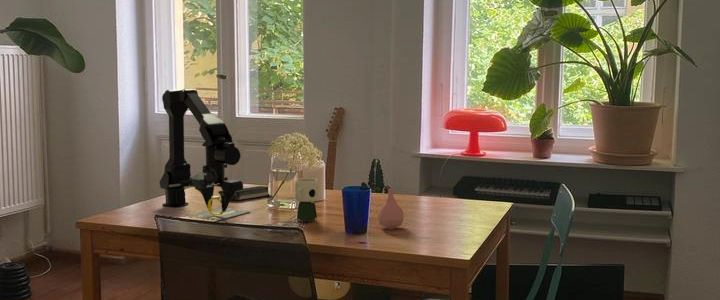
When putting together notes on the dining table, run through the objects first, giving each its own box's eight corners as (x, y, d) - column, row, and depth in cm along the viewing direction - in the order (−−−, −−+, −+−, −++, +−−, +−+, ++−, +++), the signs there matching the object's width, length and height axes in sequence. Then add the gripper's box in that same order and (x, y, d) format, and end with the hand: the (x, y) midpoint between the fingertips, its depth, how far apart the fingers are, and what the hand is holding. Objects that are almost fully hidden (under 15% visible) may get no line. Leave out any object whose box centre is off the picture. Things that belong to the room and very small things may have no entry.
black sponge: (235, 202, 266) (235, 192, 266) (222, 199, 272) (222, 189, 272) (274, 196, 277) (273, 186, 276) (261, 193, 283) (260, 183, 283)
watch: (227, 214, 242) (226, 196, 241) (221, 216, 239) (221, 198, 238) (211, 213, 244) (211, 194, 243) (206, 214, 242) (205, 196, 241)
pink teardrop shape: (385, 224, 231) (385, 185, 230) (408, 227, 227) (408, 187, 226) (373, 229, 225) (373, 189, 223) (396, 232, 221) (396, 192, 219)
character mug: (309, 225, 230) (308, 183, 228) (288, 223, 233) (287, 181, 231) (325, 218, 240) (324, 177, 238) (305, 216, 243) (304, 176, 241)
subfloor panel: (171, 220, 238) (171, 218, 238) (221, 208, 256) (221, 206, 256) (200, 225, 231) (200, 223, 231) (250, 212, 249) (250, 210, 248)
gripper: (175, 162, 238) (177, 211, 240) (218, 167, 228) (219, 218, 230) (201, 158, 247) (203, 205, 249) (243, 162, 237) (245, 211, 239)
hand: (216, 210), depth 242 cm, fingers closed on watch, 6 cm apart
